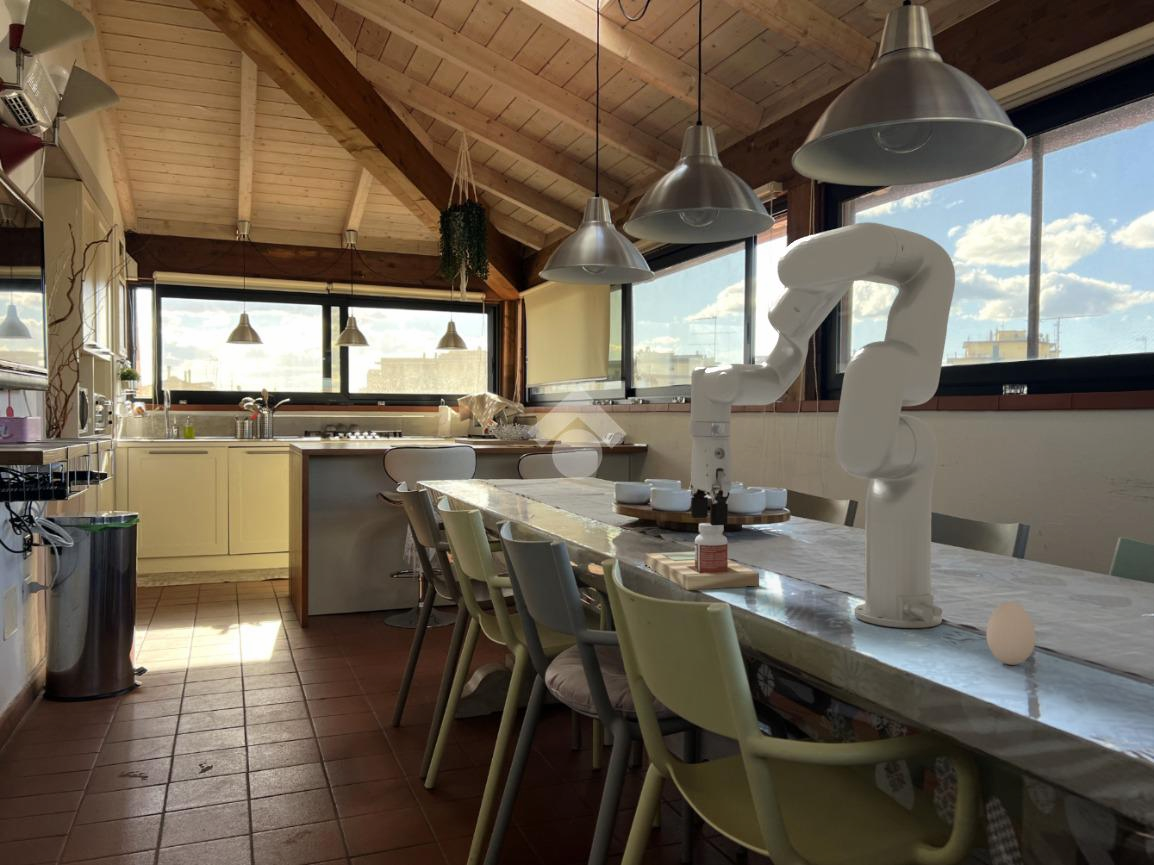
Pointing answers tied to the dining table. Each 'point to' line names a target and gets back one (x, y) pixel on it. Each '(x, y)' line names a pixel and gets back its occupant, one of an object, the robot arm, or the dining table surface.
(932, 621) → the robot arm
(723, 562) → the pill bottle
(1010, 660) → the egg
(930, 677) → the dining table surface
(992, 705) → the dining table surface
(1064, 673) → the dining table surface
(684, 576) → the pocket board
